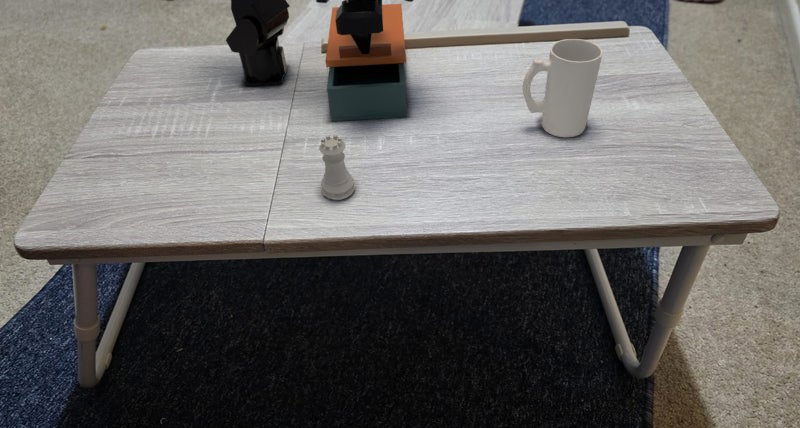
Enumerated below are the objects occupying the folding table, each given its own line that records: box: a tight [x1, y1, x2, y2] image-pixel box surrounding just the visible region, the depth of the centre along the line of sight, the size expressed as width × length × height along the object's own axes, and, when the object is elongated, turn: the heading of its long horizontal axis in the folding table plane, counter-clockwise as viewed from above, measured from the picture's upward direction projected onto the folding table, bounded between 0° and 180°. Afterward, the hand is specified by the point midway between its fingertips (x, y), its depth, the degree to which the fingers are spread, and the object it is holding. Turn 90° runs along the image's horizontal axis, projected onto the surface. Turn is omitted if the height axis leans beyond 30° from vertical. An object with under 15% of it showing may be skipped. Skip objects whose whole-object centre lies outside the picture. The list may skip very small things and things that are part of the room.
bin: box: [326, 63, 408, 122], centre depth 93 cm, size 19×12×6 cm, turn 2°
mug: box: [522, 38, 604, 138], centre depth 81 cm, size 10×7×12 cm, turn 92°
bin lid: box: [325, 3, 407, 68], centre depth 96 cm, size 20×12×3 cm, turn 2°
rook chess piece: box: [318, 134, 356, 201], centre depth 73 cm, size 4×4×8 cm
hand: (365, 53), depth 88 cm, fingers closed
